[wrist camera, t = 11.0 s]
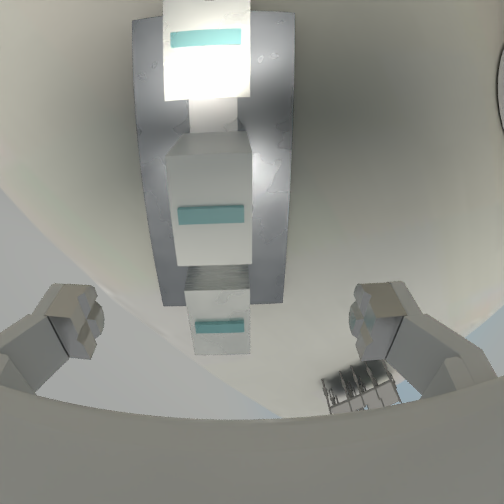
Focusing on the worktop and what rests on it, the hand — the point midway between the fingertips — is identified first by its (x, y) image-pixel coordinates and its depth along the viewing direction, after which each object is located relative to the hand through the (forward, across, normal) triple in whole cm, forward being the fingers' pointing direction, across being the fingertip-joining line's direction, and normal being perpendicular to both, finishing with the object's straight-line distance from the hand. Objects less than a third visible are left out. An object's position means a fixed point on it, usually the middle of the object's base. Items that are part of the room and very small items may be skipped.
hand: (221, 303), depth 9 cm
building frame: (+15, -14, +26) cm, 33 cm away
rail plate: (+14, +1, 0) cm, 14 cm away
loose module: (+13, +1, 0) cm, 13 cm away
